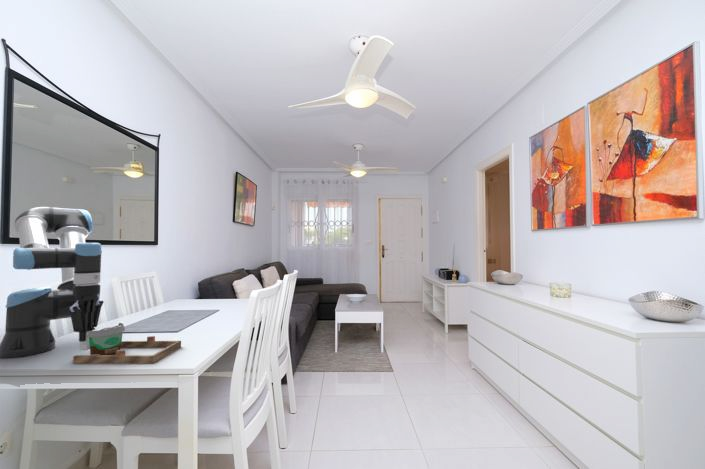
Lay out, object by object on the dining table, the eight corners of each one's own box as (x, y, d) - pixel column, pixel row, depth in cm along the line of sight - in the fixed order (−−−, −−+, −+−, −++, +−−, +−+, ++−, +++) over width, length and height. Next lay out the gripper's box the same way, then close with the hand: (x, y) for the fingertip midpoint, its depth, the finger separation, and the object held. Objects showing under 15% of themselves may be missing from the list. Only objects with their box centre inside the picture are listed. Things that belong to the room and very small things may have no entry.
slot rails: (73, 363, 104) (73, 351, 104) (111, 347, 121) (112, 336, 121) (153, 363, 104) (153, 350, 104) (181, 346, 121) (181, 336, 121)
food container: (100, 361, 106) (101, 332, 106) (86, 360, 107) (87, 331, 107) (132, 349, 118) (133, 323, 118) (119, 348, 119) (120, 322, 119)
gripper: (82, 286, 107) (79, 355, 106) (111, 282, 120) (109, 343, 119) (60, 286, 106) (57, 355, 106) (91, 282, 120) (89, 343, 119)
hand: (85, 349), depth 112 cm, fingers closed
